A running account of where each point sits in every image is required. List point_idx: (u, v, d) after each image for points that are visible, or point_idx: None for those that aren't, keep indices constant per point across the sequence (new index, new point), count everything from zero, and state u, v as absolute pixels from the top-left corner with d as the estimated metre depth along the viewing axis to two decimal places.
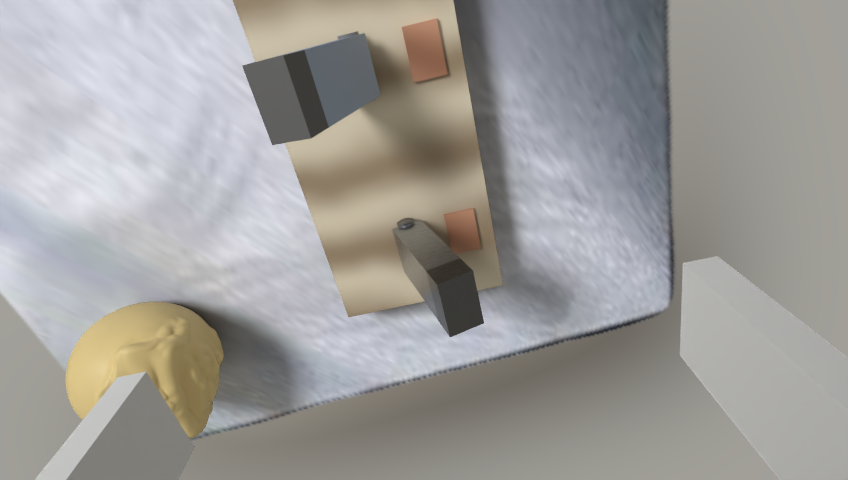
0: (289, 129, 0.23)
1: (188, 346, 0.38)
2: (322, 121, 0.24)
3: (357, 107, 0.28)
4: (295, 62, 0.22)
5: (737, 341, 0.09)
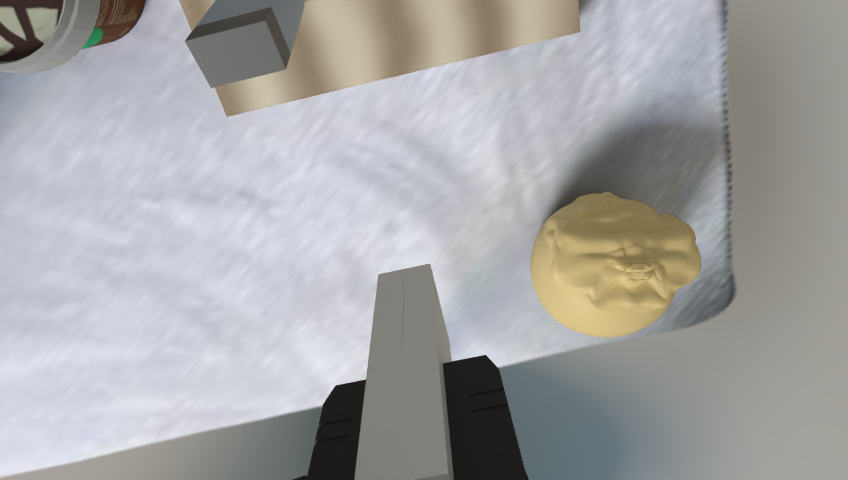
0: (262, 46, 0.22)
1: (573, 220, 0.35)
2: (261, 12, 0.22)
3: None
4: (198, 32, 0.22)
5: None
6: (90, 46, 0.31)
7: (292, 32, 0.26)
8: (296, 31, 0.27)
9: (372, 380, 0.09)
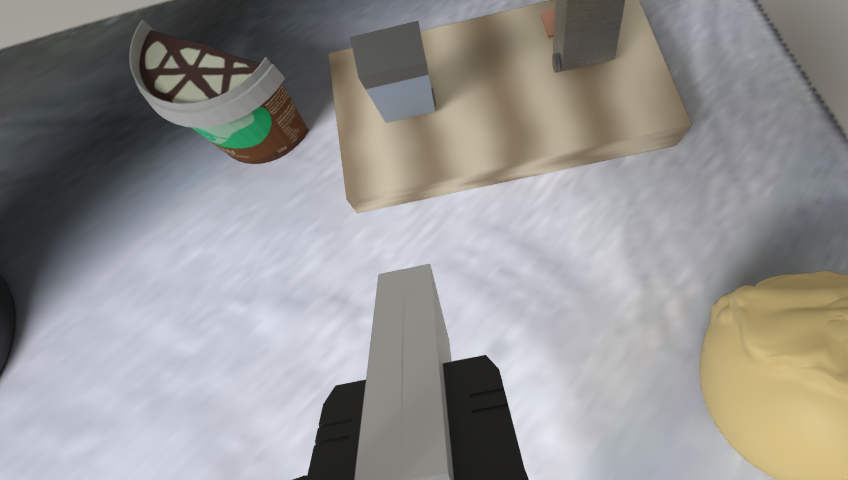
0: (411, 41, 0.26)
1: None
2: None
3: None
4: None
5: None
6: (254, 145, 0.37)
7: None
8: (431, 90, 0.31)
9: (372, 380, 0.09)
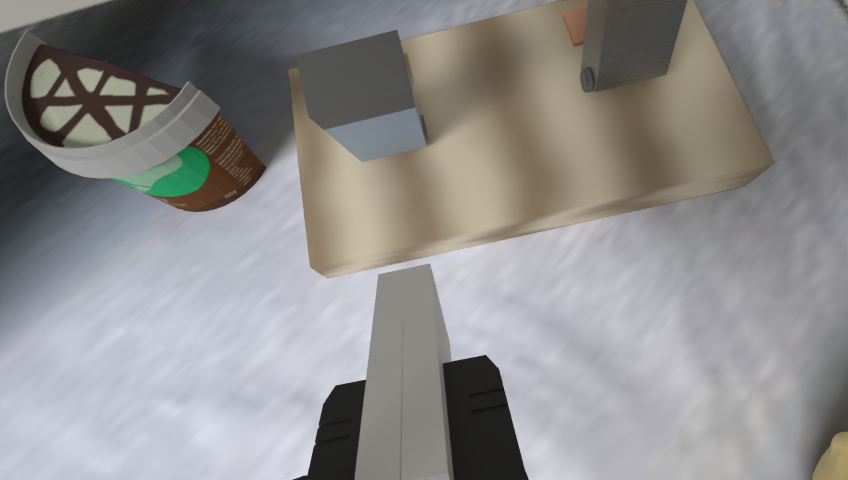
0: (387, 61, 0.17)
1: None
2: None
3: None
4: None
5: None
6: (190, 192, 0.28)
7: (417, 113, 0.21)
8: (420, 124, 0.22)
9: (372, 380, 0.09)
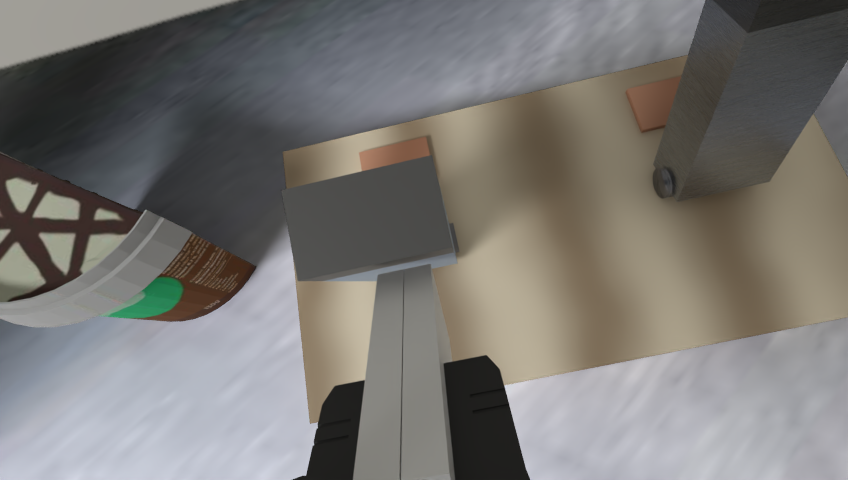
0: (417, 200, 0.11)
1: None
2: None
3: None
4: None
5: None
6: (160, 313, 0.23)
7: None
8: None
9: (371, 380, 0.09)
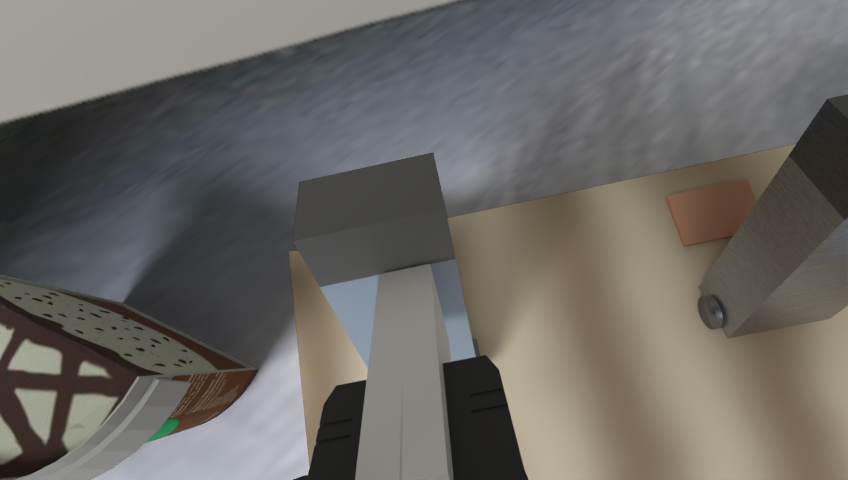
0: (416, 180, 0.12)
1: None
2: None
3: None
4: None
5: None
6: (154, 439, 0.21)
7: None
8: None
9: (373, 380, 0.09)
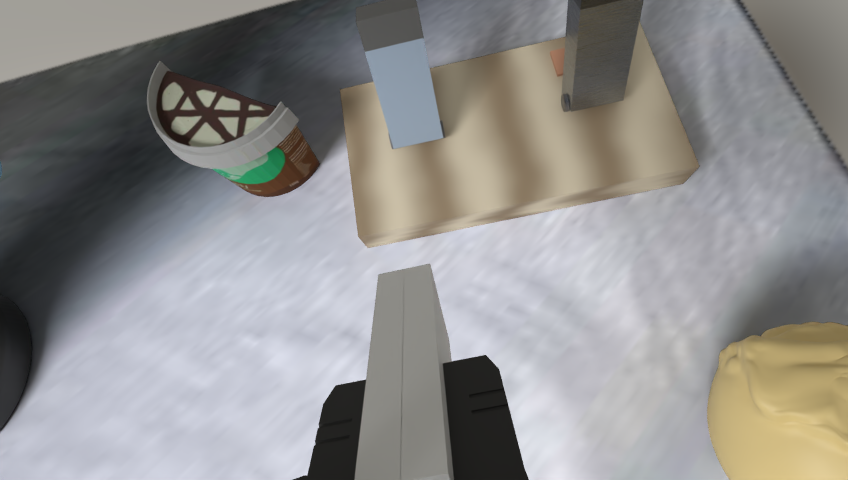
0: (406, 1, 0.30)
1: None
2: None
3: None
4: None
5: None
6: (268, 180, 0.38)
7: None
8: None
9: (372, 380, 0.09)
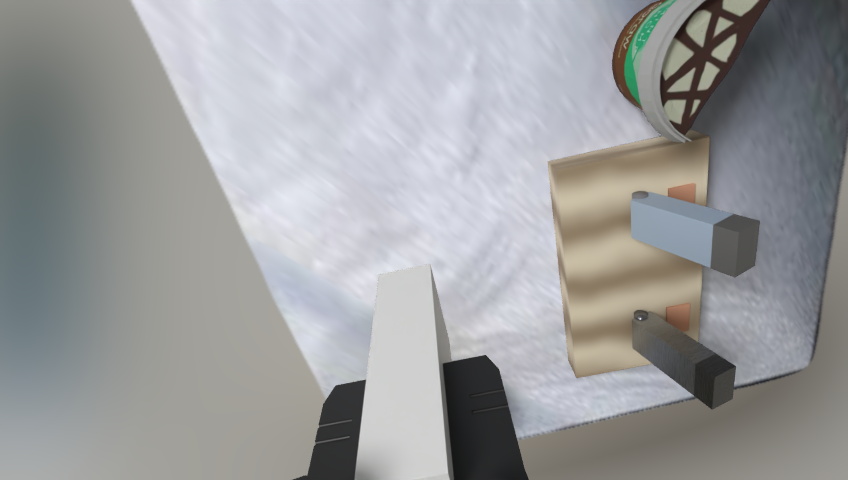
0: (746, 264, 0.36)
1: None
2: None
3: None
4: None
5: None
6: (625, 77, 0.39)
7: None
8: (676, 254, 0.40)
9: (372, 380, 0.09)
